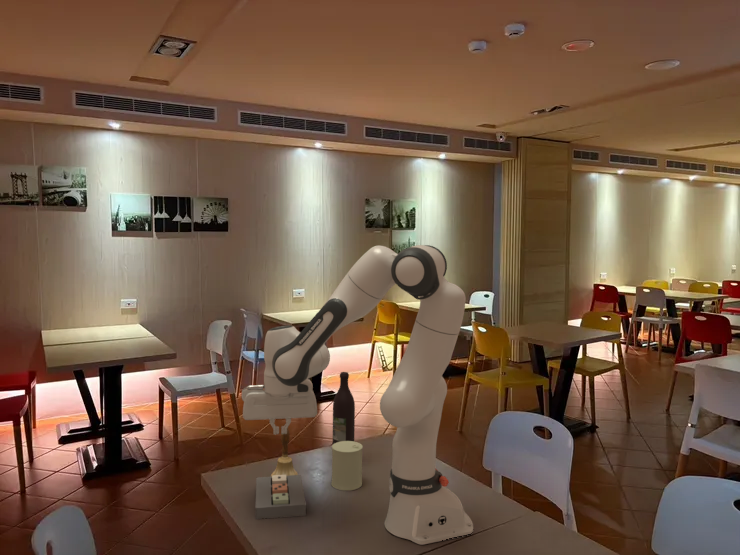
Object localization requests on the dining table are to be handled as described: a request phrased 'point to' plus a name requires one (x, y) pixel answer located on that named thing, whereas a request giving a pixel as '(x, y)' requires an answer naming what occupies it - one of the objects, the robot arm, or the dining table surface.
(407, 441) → the robot arm
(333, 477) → the can
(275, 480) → the button one
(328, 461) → the dining table surface
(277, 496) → the button two
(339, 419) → the wine bottle
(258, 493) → the button panel
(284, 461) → the hand bell
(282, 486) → the button three
